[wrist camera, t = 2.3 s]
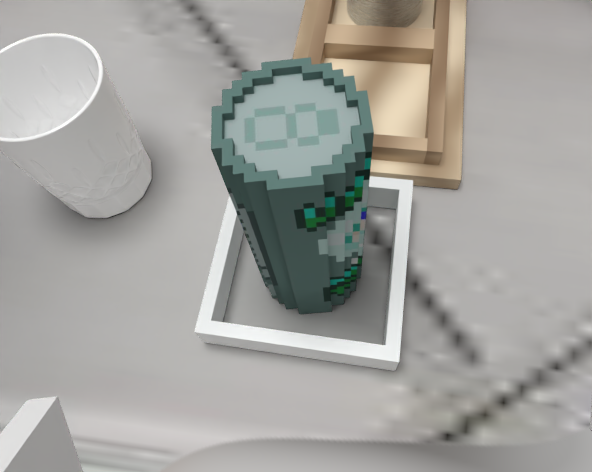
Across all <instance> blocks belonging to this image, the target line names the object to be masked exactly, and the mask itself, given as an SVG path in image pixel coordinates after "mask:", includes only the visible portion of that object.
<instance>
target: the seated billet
mask: <svg viewBox="0 0 592 472" xmlns="http://www.w3.org/2000/svg"><path fill="white" fill-rule="evenodd" d="M422 1H423V0H347V12H348V15H349V17H350V19H351V20H352V21H353V22H354V23H355V24H356V25H364V26H383V27H403V28H406V27H408V26H409V25H411V24H412V23H413V22H414V21H415V20H416V19H417V18H418V16H419V14H420V12H421V7H422Z"/></svg>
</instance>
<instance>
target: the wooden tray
mask: <svg viewBox="0 0 592 472" xmlns="http://www.w3.org/2000/svg"><path fill="white" fill-rule="evenodd" d="M465 33H466V0H423V1H422V7H421V12H420V14H419V16H418V18H417V19H416V20H415V21H414V22H413V23H412V24H411V25H409V26H408V27H406V28H403V27H383V26H364V25H356V24H355V23H354V22H353V21H352V20H351V19H350V17H349V15H348V12H347V0H306V1H305V5H304V10H303V14H302V19H301V23H300V28H299V32H298V37H297V41H296V46H295V50H294V55H293V59H299V58H308V57H311V64H312V65H313V64H322V63H331V62H332V69H333V70H337V69H343V74H344V77H345V76H354V78H355V85H356V91H364V90H367V93H368V99H369V105H370V112H371V118H372V124H373V130H374V137H373V147H372V158H371V169H370V176H374V177H384V178H395V179H405V180H413V185H416V186H427V187H437V188H448V189H458V187H459V184H460V182H461V167H462V134H463V100H464V67H465Z"/></svg>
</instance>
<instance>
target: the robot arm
mask: <svg viewBox="0 0 592 472" xmlns="http://www.w3.org/2000/svg"><path fill="white" fill-rule="evenodd" d="M590 430H591V431H592V403H591V417H590ZM0 472H83V470H82V467H81V464H80V461H79V458H78V455H77V452H76V449H75V446H74V443H73V440H72V437H71V435H70V432H69V429H68V426H67V423H66V420H65V417H64V414H63V411H62V408H61V405H60V402H59V399H58V396H56V397H47V398H38V399H30V400H27V401H26V402H25V403H24V405H23V406H22V407H21V408H20V410H19V411H18V412H17V413H16V415H15V416H14V417H13V418H12V420H11V421H10V422H9V423H8V425H7V426H6V427H5V428H4V430H3V431H2V432H1V433H0Z"/></svg>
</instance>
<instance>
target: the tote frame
mask: <svg viewBox="0 0 592 472" xmlns="http://www.w3.org/2000/svg"><path fill="white" fill-rule="evenodd" d="M412 190H413V180H405V179H395V178H384V177H374V176H370V180H369V191H368V201H367V206H373V207H383V208H393V209H396V211H395V222H394V233H393V244H392V255H391V266H390V276H389V287H388V298H387V309H386V320H385V331H384V342H383V345H379V344H372V343H365V342H358V341H351V340H344V339H337V338H330V337H323V336H316V335H309V334H302V333H295V332H288V331H281V330H274V329H267V328H260V327H253V326H246V325H239V324H232V323H225V322H223V319H224V314H225V310H226V306H227V302H228V297H229V293H230V289H231V284H232V280H233V276H234V272H235V267H236V263H237V259H238V254H239V250H240V246H241V242H242V237H243V233H244V230H243V228H242V225H241V223H240V220H239V218H238V215H237V212H236V210H235V207H234V205H233V202H232V200H231V197H230V195H229V198H228V202H227V206H226V210H225V214H224V218H223V222H222V226H221V230H220V234H219V237H218V241H217V245H216V249H215V253H214V257H213V261H212V265H211V269H210V273H209V277H208V280H207V284H206V288H205V292H204V296H203V300H202V304H201V308H200V312H199V316H198V320H197V323H196V327H195V331H194V332H195V333H196V334H197V335H198V336H199V337H200V338H201V339H202V340H203V341H204V342H205V343H211V344H218V345H224V346H231V347H238V348H244V349H251V350H258V351H264V352H271V353H278V354H284V355H291V356H298V357H304V358H311V359H318V360H324V361H331V362H338V363H344V364H351V365H358V366H364V367H371V368H378V369H384V370H391V371H395V370H396V368H397V366H398V364H399V358H400V345H401V332H402V319H403V306H404V293H405V280H406V267H407V254H408V241H409V228H410V215H411V203H412Z"/></svg>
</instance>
